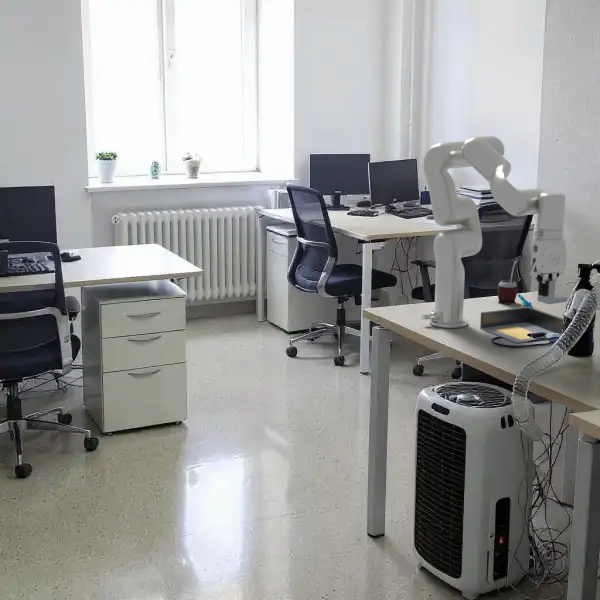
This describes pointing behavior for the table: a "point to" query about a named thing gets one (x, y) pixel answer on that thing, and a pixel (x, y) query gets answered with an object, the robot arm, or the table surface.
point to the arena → (520, 323)
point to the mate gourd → (507, 290)
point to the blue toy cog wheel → (525, 302)
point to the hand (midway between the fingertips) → (545, 294)
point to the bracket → (551, 294)
